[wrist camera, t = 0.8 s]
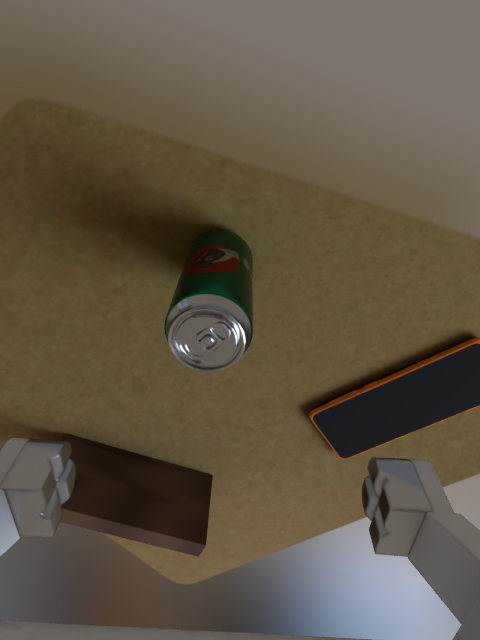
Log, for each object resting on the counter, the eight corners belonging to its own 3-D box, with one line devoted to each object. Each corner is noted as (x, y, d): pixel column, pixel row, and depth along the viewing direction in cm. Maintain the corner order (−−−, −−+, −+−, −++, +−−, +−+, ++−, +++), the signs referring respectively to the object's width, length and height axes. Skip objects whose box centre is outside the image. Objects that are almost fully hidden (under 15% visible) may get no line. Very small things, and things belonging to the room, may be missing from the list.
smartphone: (503, 390, 40) (507, 397, 39) (339, 455, 45) (341, 462, 44) (478, 332, 37) (483, 337, 36) (305, 409, 42) (306, 415, 41)
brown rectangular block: (58, 464, 47) (24, 533, 40) (66, 433, 44) (32, 501, 37) (198, 502, 49) (189, 573, 42) (212, 475, 47) (206, 545, 40)
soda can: (175, 255, 34) (141, 337, 24) (222, 213, 32) (208, 283, 22) (218, 298, 36) (205, 392, 26) (265, 261, 34) (271, 346, 24)
